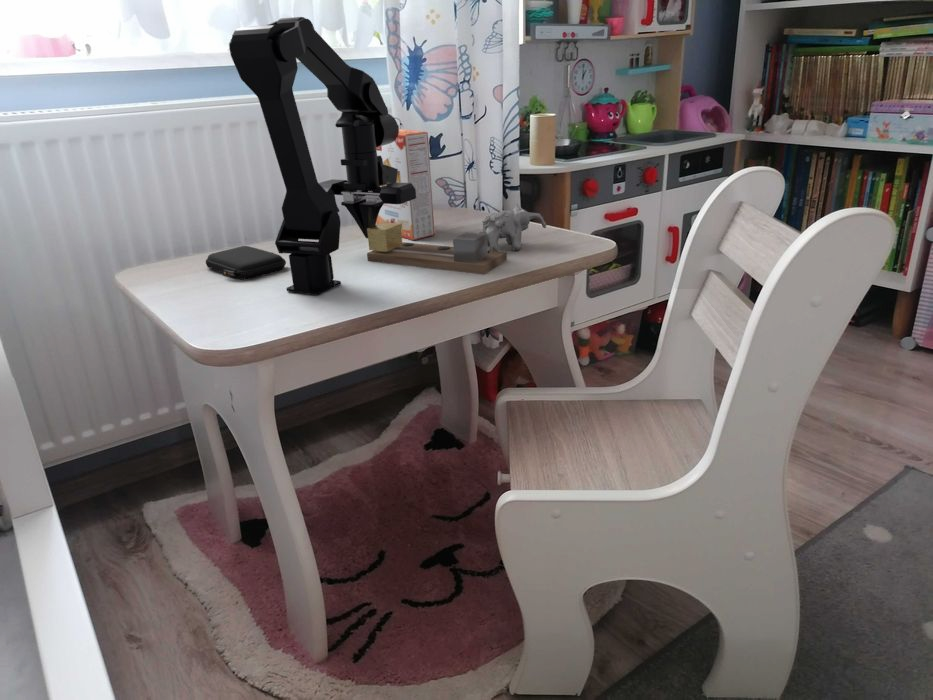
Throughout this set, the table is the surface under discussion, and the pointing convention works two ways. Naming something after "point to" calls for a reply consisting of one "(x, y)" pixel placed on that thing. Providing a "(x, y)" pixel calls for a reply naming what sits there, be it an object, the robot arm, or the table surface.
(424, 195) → the cracker box
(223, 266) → the carrying case or bag
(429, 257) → the board
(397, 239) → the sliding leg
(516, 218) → the elephant statuette
